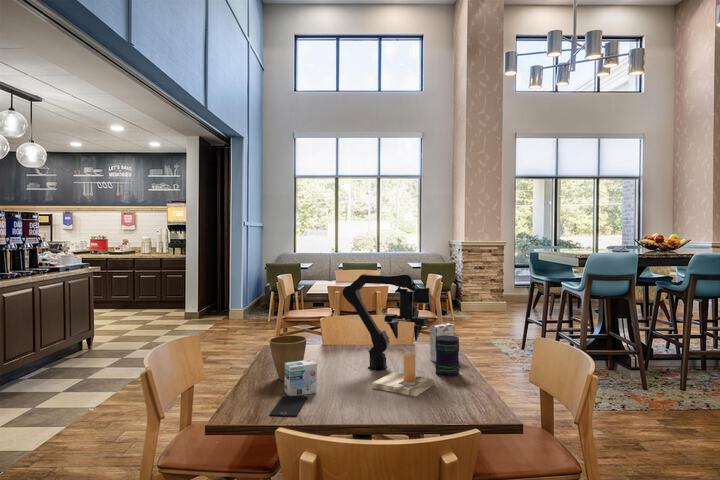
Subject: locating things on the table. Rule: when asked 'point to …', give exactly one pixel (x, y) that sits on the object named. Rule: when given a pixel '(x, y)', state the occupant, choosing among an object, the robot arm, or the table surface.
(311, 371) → the light bulb box
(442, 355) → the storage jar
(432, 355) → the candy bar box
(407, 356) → the orange rounded cylinder
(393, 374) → the subfloor panel
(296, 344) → the plant pot
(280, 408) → the cell phone
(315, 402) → the table surface
